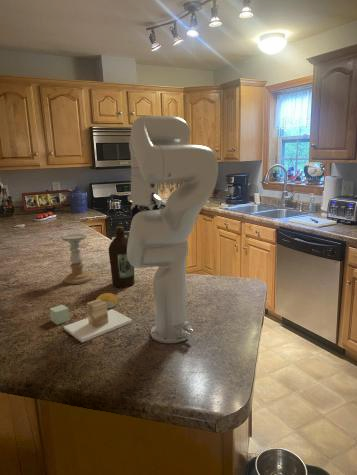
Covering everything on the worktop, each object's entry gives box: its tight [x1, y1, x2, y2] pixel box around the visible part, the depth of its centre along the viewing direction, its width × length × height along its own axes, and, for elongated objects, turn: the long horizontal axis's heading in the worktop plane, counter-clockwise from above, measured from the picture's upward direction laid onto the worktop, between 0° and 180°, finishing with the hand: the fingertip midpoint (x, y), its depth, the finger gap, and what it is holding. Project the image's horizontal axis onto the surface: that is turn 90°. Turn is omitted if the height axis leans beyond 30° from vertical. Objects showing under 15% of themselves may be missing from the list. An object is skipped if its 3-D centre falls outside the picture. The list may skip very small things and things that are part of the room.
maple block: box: [86, 299, 108, 328], centre depth 112 cm, size 4×4×7 cm
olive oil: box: [108, 226, 135, 288], centre depth 149 cm, size 11×11×25 cm
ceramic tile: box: [63, 308, 133, 343], centre depth 113 cm, size 12×18×1 cm, turn 133°
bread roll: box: [95, 292, 118, 310], centre depth 130 cm, size 8×9×4 cm
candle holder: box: [61, 233, 93, 285], centre depth 156 cm, size 12×12×20 cm
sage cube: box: [49, 304, 71, 326], centre depth 118 cm, size 4×4×4 cm
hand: (144, 221), depth 124 cm, fingers open, 9 cm apart
